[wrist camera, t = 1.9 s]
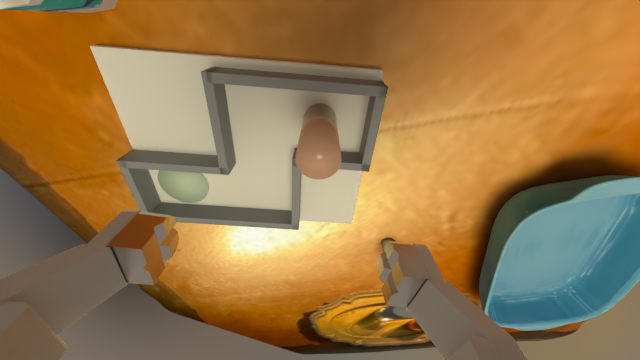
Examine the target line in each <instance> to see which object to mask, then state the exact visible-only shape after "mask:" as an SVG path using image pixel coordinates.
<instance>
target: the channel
mask: <svg viewBox="0 0 640 360" xmlns="http://www.w3.org/2000/svg"><path fill="white" fill-rule="evenodd" d="M90 48H91V50H92V53H93V55H94V58H95V60H96V62H97V65H98V67H99V70H100V72H101V74H102V77H103V79H104V82H105V84H106V86H107V89H108V91H109V93H110V96H111V98H112V101H113V103H114V105H115V108H116V110H117V113H118V115H119V117H120V120H121V122H122V125H123V127H124V129H125V132H126V134H127V137H128V139H129V141H130V144H131V146H132V148H133V150H131V151H130V152H128V153H127V154H125V155H124V156H122V157H121V158H119V159H118V160H116V161H117V163H118V165H119V167H120V169H121V171H122V174H123V176H124V178H125V180H126V182H127V184H128V186H129V188H130V190H131V192H132V195H133V197H134V199H135V201H136V203H137V205H138V207H139V209H140V211H143V212H150V213H157V214H164V215H171V216H174V218H175V222H185V223H200V224H216V225H232V226H248V227H264V228H280V229H296V230H298V228H299V220H302V221H317V222H333V223H349V224H352V220H353V215H354V210H355V206H356V201H357V196H358V191H359V187H360V182H361V177H362V172H363V171H369V168H370V164H371V159H372V155H373V151H374V146H375V142H376V137H377V133H378V129H379V124H380V120H381V115H382V111H383V107H384V102H385V98H386V94H387V89H388V87H387V86H386V85H385V84H384V83H383V82H382V77H383V73H384V71H383V70H382V69H374V68H362V67H351V66H339V65H327V64H316V63H304V62H292V61H280V60H269V59H257V58H245V57H234V56H222V55H210V54H199V53H187V52H175V51H164V50H152V49H140V48H128V47H117V46H105V45H94V46H90ZM318 103H321V104H326V105H328V106H330V107H331V108H332V109H333V111H334V112H335V115H336V120H337V128H338V135H339V143H340V150H341V158H342V160H341V165H340V168H339V169H338V171H337V172H336V173H335V174H334V175H332V176H331V177H329V178H326V179H311V178H309V177H306V176H305V175H303V174H302V173H301V172H300V171H299V169H298V168H297V166H296V162H295V156H296V151H297V146H298V141H299V137H300V132H301V127H302V122H303V118H304V114H305V112H306V110H307V109H308V108H309V107H310V106H312V105H314V104H318ZM159 170H163V171H177V172H192V173H202V174H203V175H204V176H205V178H206V179H207V181H208V184H209V192H208V194H207V196H206V197H205V198H204V199H203V200H201V201H199V202H195V203H187V202H182V201H179V200H176V199H174V198H173V197H171V196H169V195H168V194H167V193H166V192H165V191H164V190H163V189H162V188H161V186H160V184H159V182H158V172H159Z"/></svg>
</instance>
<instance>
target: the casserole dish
mask: <svg viewBox="0 0 640 360" xmlns="http://www.w3.org/2000/svg"><path fill="white" fill-rule="evenodd" d="M639 280H640V176H633V177H632V176H624V175H605V176H597V177H590V178H583V179H577V180H570V181H564V182H557V183H551V184H545V185H540V186H535V187H532V188H528V189H526V190H523V191H521V192H519V193H517V194H516V195H514V196H513V197H511V198H510V199H509V200H508V201H507V202H506V203H505V204H504V205H503V207H502V208H501V209H500V211H499V213H498V215H497V217H496V219H495V222H494V224H493V228H492V231H491V234H490V238H489V242H488V246H487V250H486V254H485V258H484V262H483V265H482V270H481V274H480V279H479V295H480V300H481V304H482V308H483V312H484V313H485V314H486V315H487V316H489V317H490V318H491V319H492V320H493V321H494V322H495V323H497V324H498V325H499V326H500V327H509V328H514V329H519V330H543V329H549V328H555V327H559V326H562V325H566V324H569V323H575V322H579V321H584V320H587V319H590V318H593V317H596V316H598V315H600V314H602V313H604V312H606V311H607V310H609V309H610V308H612V307H613V306H614V305H615V304H617V303H618V302H619V301H620V300H621V299H622V298H623V297H624V296H625V295H626V294H627V293H628V292H629V291H630V290H631V288H633V286H634V285H635V284H636V283H637V282H638V281H639Z"/></svg>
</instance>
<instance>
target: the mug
mask: <svg viewBox="0 0 640 360" xmlns="http://www.w3.org/2000/svg"><path fill="white" fill-rule="evenodd" d="M117 1H118V0H0V9H1V10H27V11H53V12H79V13H94V12H99V11H105V10H110V9H114V8H115V6H116V4H117Z"/></svg>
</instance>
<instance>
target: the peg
mask: <svg viewBox="0 0 640 360" xmlns="http://www.w3.org/2000/svg"><path fill="white" fill-rule="evenodd" d="M341 160H342V158H341V150H340V143H339V135H338V128H337V120H336V115H335V112H334V111H333V109H332V108H331V107H330V106H328V105H326V104H321V103H318V104H314V105H312V106H310V107H309V108H308V109H307V110H306V112H305V114H304V118H303V122H302V127H301V132H300V137H299V141H298V146H297V151H296V156H295V162H296V166H297V168H298V169H299V171H300V172H301V173H302V174H303V175H305V176H306V177H309V178H311V179H326V178H329V177H331V176H332V175H334V174H335V173H336V172H337V171H338V169H339V168H340V165H341Z"/></svg>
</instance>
